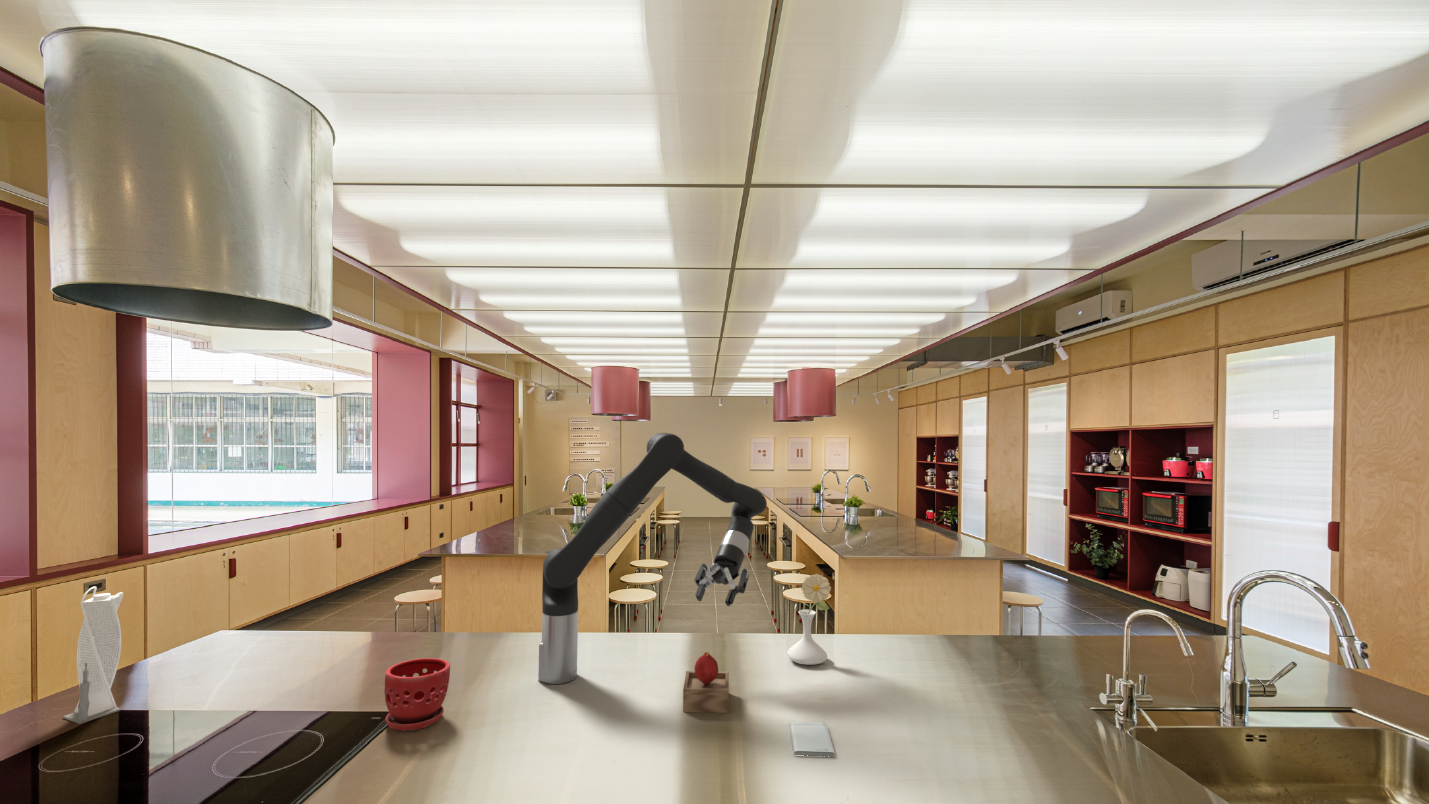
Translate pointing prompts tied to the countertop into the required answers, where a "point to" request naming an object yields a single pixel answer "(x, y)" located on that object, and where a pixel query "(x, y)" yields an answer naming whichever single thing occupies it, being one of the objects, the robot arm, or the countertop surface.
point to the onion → (706, 668)
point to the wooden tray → (706, 694)
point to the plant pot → (416, 693)
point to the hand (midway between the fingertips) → (712, 602)
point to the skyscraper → (97, 656)
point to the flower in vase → (807, 648)
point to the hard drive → (811, 739)
